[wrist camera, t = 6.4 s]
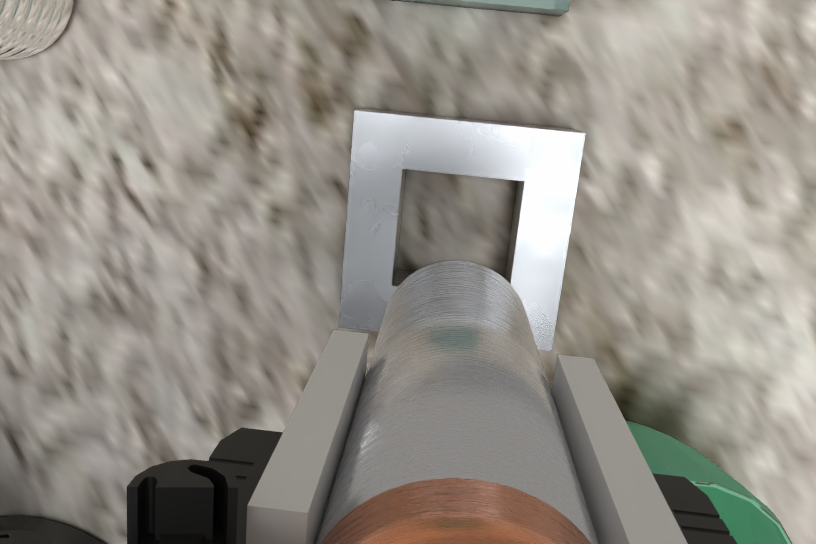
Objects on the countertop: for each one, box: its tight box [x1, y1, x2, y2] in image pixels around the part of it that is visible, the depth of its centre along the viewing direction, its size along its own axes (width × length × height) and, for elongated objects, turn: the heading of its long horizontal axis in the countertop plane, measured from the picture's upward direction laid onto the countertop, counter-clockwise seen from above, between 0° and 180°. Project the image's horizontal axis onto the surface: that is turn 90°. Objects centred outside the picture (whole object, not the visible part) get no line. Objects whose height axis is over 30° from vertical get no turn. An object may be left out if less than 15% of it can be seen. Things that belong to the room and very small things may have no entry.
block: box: [339, 108, 586, 351], centre depth 34 cm, size 10×10×3 cm
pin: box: [316, 260, 599, 544], centre depth 13 cm, size 4×4×13 cm
